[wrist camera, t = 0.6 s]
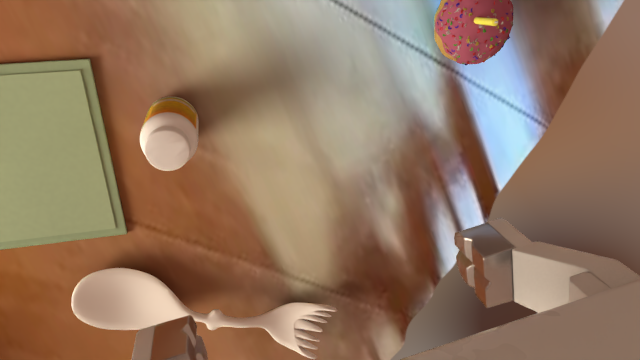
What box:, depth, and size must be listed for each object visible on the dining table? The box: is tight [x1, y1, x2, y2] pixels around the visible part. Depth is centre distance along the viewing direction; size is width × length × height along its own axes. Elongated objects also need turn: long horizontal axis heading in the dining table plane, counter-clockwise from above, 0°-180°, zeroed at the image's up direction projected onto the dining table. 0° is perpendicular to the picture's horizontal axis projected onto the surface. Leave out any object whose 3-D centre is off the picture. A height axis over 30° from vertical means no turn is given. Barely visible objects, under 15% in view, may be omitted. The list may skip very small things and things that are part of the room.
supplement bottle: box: [140, 97, 199, 171], centre depth 49 cm, size 5×5×10 cm
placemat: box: [0, 59, 127, 250], centre depth 51 cm, size 20×18×1 cm
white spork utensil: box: [71, 268, 337, 359], centre depth 62 cm, size 9×32×4 cm, turn 70°
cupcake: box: [434, 0, 513, 65], centre depth 50 cm, size 9×8×12 cm
